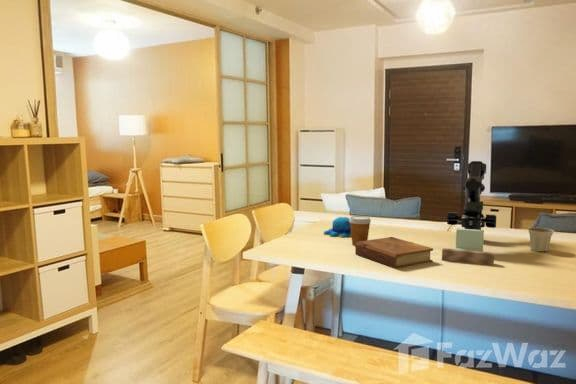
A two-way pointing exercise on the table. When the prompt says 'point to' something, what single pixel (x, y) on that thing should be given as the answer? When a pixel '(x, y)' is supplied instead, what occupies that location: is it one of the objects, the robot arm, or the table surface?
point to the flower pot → (540, 238)
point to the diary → (393, 252)
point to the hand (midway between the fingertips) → (469, 237)
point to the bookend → (469, 239)
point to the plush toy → (340, 228)
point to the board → (468, 256)
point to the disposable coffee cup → (359, 228)
